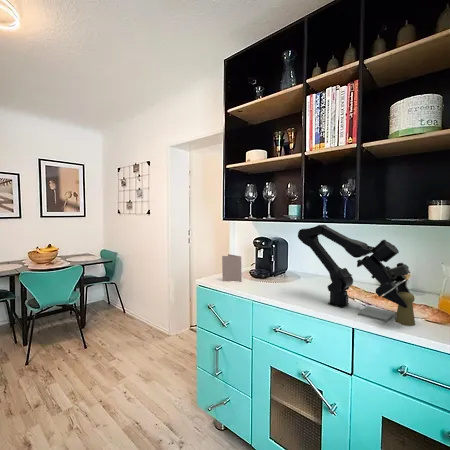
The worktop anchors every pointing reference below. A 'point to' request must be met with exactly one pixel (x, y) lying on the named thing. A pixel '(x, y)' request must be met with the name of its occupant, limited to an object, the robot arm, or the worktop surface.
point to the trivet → (376, 314)
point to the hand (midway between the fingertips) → (410, 304)
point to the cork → (406, 310)
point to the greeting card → (231, 268)
